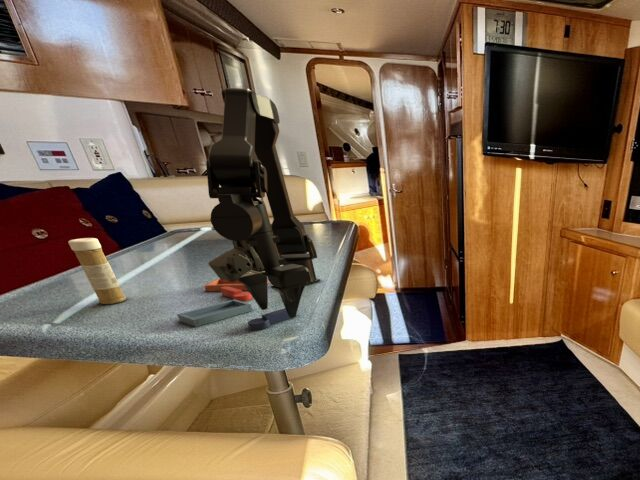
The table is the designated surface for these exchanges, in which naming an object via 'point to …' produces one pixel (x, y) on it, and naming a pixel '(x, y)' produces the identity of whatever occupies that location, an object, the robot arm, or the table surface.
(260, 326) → the navy spoon
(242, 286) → the terracotta tray
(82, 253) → the sprinkles bottle
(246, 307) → the grey tray
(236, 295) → the brick-red spoon
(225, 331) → the table surface
